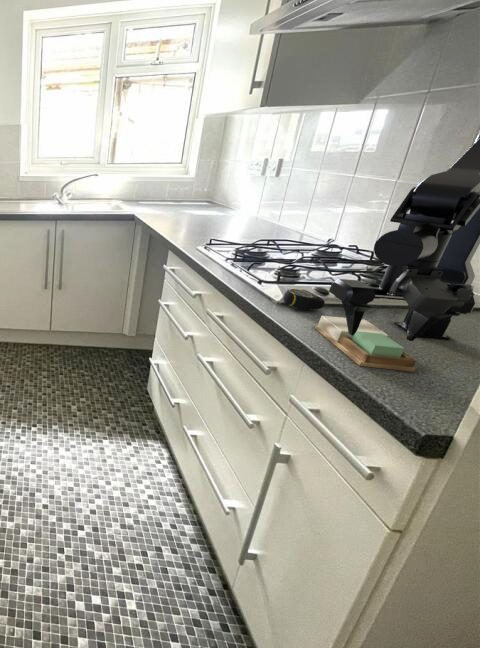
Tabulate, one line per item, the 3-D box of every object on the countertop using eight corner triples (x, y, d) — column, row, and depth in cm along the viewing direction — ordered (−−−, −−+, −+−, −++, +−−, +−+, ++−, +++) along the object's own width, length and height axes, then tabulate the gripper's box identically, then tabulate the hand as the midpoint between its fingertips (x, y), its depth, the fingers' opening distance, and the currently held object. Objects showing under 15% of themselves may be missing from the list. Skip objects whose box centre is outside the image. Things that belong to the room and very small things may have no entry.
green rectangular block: (349, 344, 83) (355, 331, 81) (376, 347, 82) (382, 333, 80) (369, 359, 77) (375, 345, 76) (397, 362, 76) (404, 348, 75)
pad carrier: (314, 328, 91) (319, 315, 90) (359, 332, 89) (365, 319, 88) (359, 365, 77) (366, 350, 75) (414, 371, 75) (421, 356, 74)
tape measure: (322, 313, 98) (328, 298, 97) (292, 312, 99) (298, 297, 97) (303, 302, 105) (308, 288, 103) (275, 301, 105) (279, 287, 104)
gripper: (382, 266, 67) (346, 351, 73) (528, 276, 63) (478, 365, 69) (342, 248, 77) (314, 324, 83) (466, 256, 73) (427, 335, 79)
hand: (379, 337), depth 78 cm, fingers open, 9 cm apart
